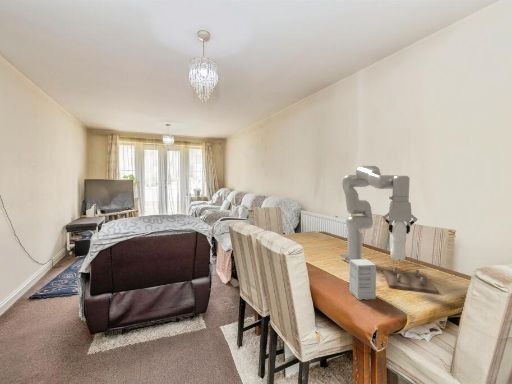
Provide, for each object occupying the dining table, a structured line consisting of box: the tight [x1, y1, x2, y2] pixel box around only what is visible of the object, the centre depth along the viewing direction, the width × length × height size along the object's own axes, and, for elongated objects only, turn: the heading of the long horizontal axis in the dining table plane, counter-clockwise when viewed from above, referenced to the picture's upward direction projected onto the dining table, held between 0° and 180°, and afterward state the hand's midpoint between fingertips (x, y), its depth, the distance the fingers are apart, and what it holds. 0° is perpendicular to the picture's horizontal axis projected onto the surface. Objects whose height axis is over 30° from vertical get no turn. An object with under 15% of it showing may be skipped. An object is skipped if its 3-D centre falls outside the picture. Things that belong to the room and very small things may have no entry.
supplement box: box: [348, 258, 377, 301], centre depth 125 cm, size 10×9×17 cm
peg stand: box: [382, 266, 439, 295], centre depth 140 cm, size 22×22×6 cm
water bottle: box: [390, 221, 407, 262], centre depth 133 cm, size 7×7×25 cm
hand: (399, 232), depth 133 cm, fingers closed on water bottle, 7 cm apart
